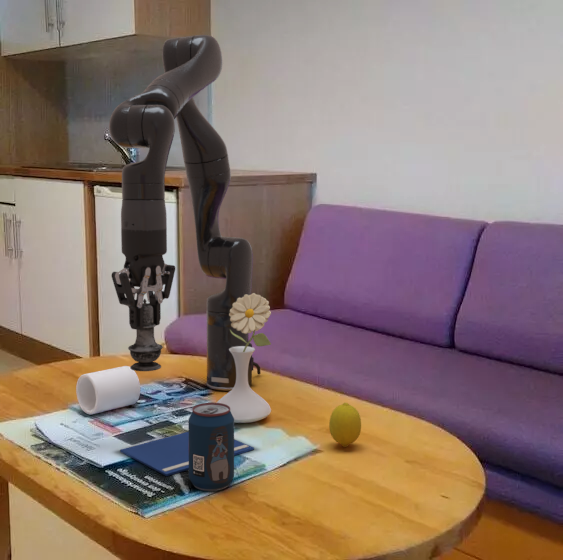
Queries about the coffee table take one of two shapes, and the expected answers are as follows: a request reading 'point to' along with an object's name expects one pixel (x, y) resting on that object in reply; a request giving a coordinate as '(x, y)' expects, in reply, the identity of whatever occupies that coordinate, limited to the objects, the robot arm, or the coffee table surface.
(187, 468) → the blue notebook
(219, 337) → the robot arm
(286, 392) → the coffee table surface
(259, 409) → the flower in vase
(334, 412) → the lemon
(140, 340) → the dark grey turned piece
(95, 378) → the mug
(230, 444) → the soda can
